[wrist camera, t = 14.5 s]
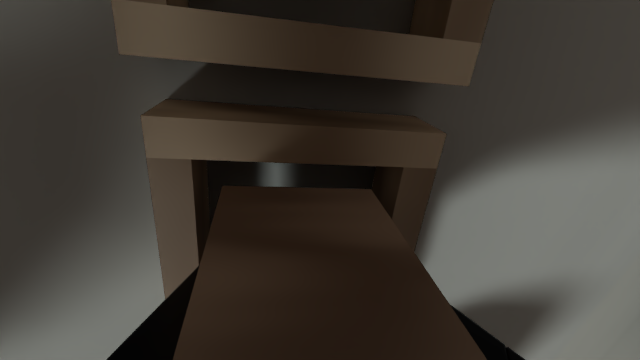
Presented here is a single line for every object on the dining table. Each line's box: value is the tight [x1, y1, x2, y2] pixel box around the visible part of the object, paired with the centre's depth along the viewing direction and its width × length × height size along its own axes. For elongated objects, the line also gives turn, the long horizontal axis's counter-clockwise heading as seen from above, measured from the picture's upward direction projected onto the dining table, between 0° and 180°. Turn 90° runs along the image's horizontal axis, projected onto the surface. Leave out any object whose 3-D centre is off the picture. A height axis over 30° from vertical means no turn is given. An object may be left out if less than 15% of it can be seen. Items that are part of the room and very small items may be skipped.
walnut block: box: [173, 186, 487, 360], centre depth 6 cm, size 4×4×6 cm
